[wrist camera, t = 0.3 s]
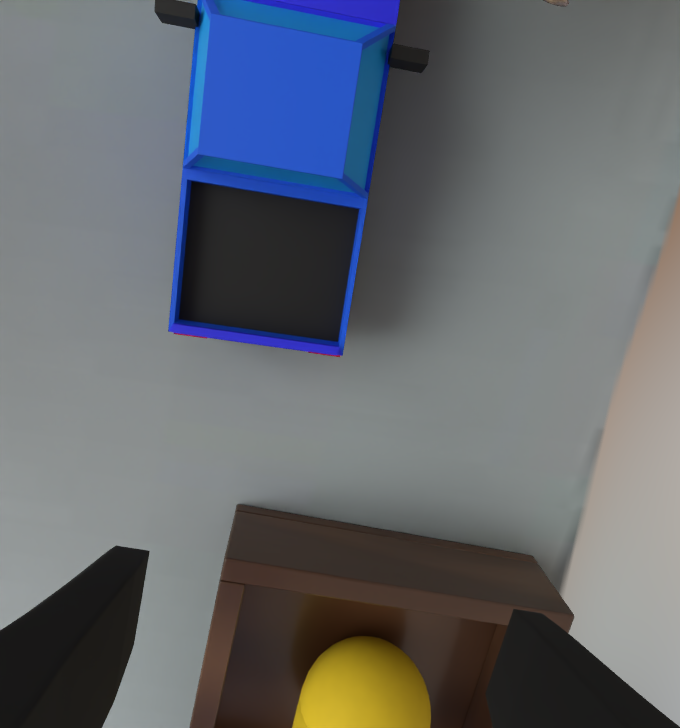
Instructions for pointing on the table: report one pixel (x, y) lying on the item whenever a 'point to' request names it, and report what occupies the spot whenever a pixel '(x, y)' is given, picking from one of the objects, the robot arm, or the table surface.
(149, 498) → the table surface
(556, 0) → the bird figurine
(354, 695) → the yellow capsule
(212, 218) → the toy car
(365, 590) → the box
